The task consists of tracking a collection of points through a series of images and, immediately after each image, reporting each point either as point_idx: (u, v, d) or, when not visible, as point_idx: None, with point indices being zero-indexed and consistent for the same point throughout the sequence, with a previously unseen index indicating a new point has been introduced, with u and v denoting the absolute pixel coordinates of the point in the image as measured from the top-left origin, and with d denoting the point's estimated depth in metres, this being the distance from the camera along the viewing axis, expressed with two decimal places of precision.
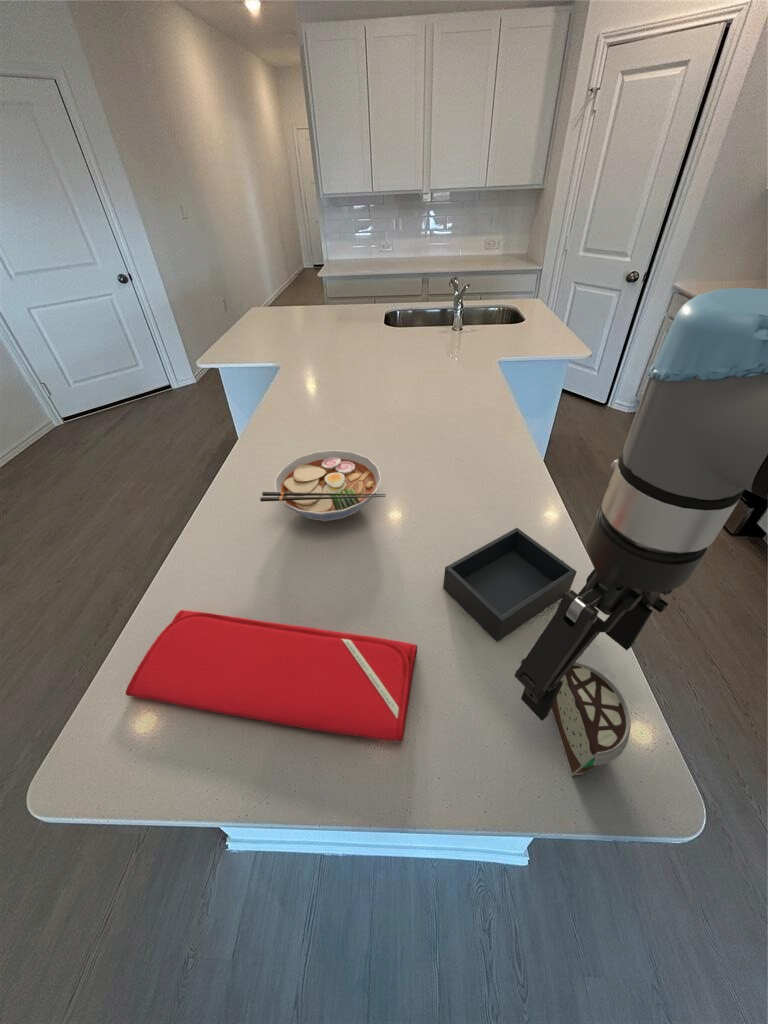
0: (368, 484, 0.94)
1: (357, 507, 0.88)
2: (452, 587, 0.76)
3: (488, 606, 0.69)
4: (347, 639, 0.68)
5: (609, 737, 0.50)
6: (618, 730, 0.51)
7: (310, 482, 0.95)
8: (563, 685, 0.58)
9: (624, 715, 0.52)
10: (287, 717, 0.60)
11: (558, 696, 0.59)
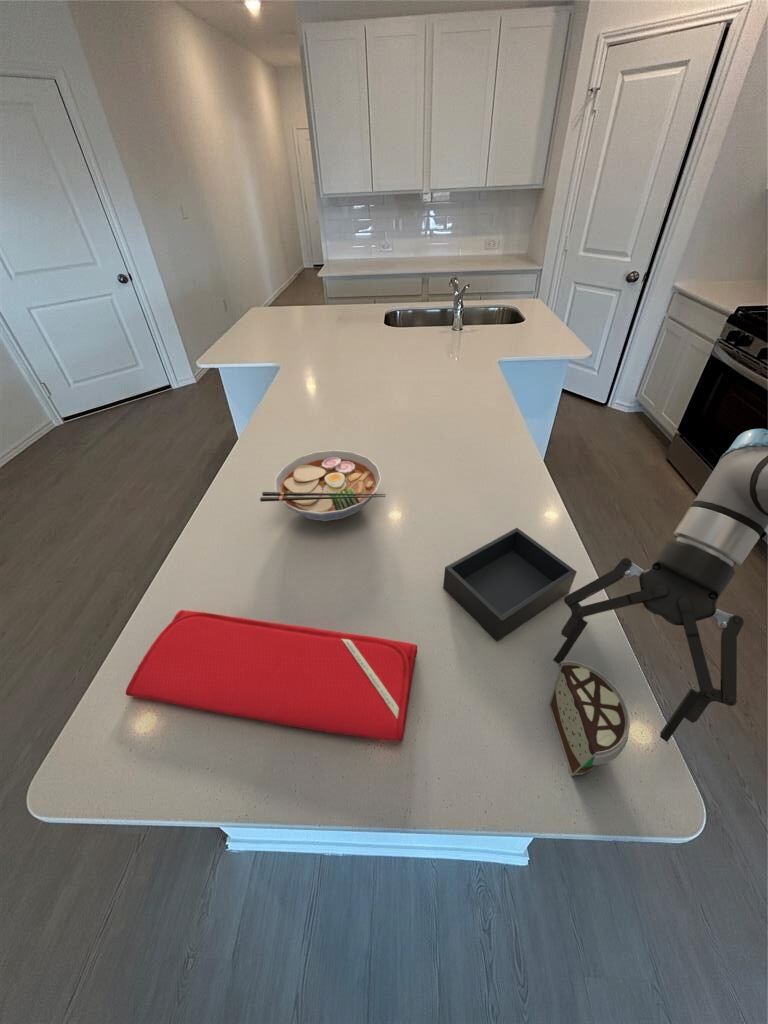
0: (368, 484, 0.94)
1: (357, 507, 0.88)
2: (452, 587, 0.76)
3: (488, 606, 0.69)
4: (347, 639, 0.68)
5: (608, 737, 0.50)
6: (617, 730, 0.51)
7: (310, 482, 0.95)
8: (562, 685, 0.58)
9: (623, 715, 0.52)
10: (287, 717, 0.60)
11: (558, 696, 0.59)
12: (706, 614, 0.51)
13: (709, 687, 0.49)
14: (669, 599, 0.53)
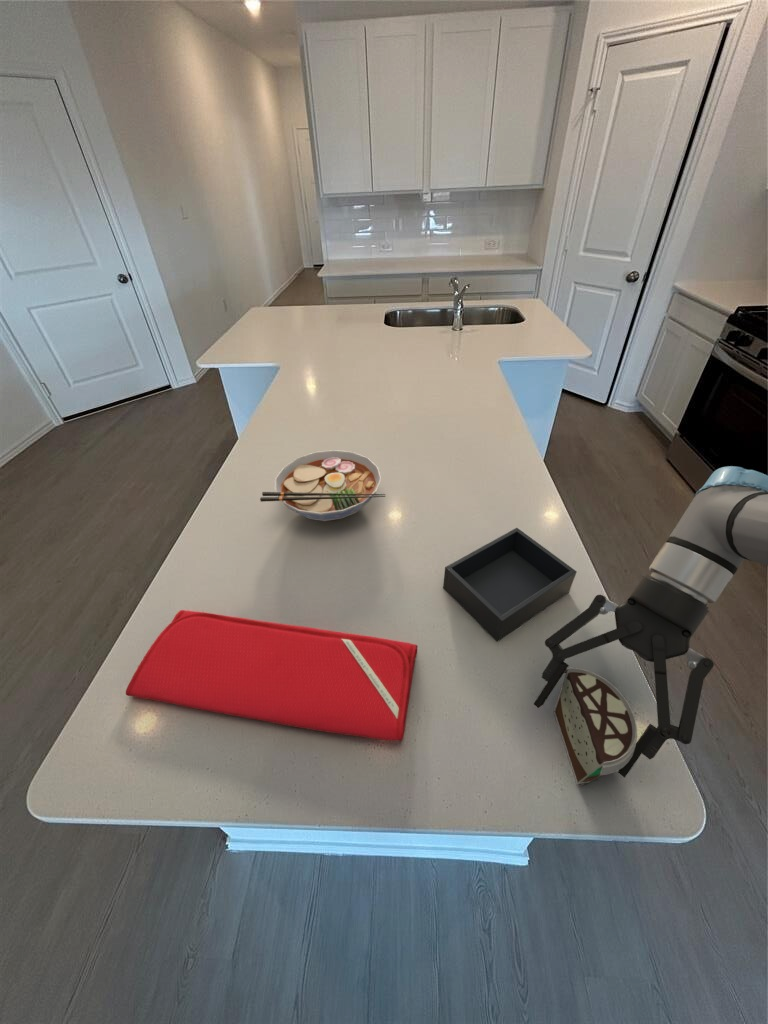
0: (368, 484, 0.94)
1: (357, 507, 0.88)
2: (452, 587, 0.76)
3: (488, 606, 0.69)
4: (347, 639, 0.68)
5: (616, 746, 0.50)
6: (625, 739, 0.50)
7: (310, 482, 0.95)
8: (568, 692, 0.57)
9: (630, 723, 0.51)
10: (287, 717, 0.60)
11: (563, 703, 0.59)
12: (678, 652, 0.51)
13: (667, 725, 0.50)
14: (643, 635, 0.53)
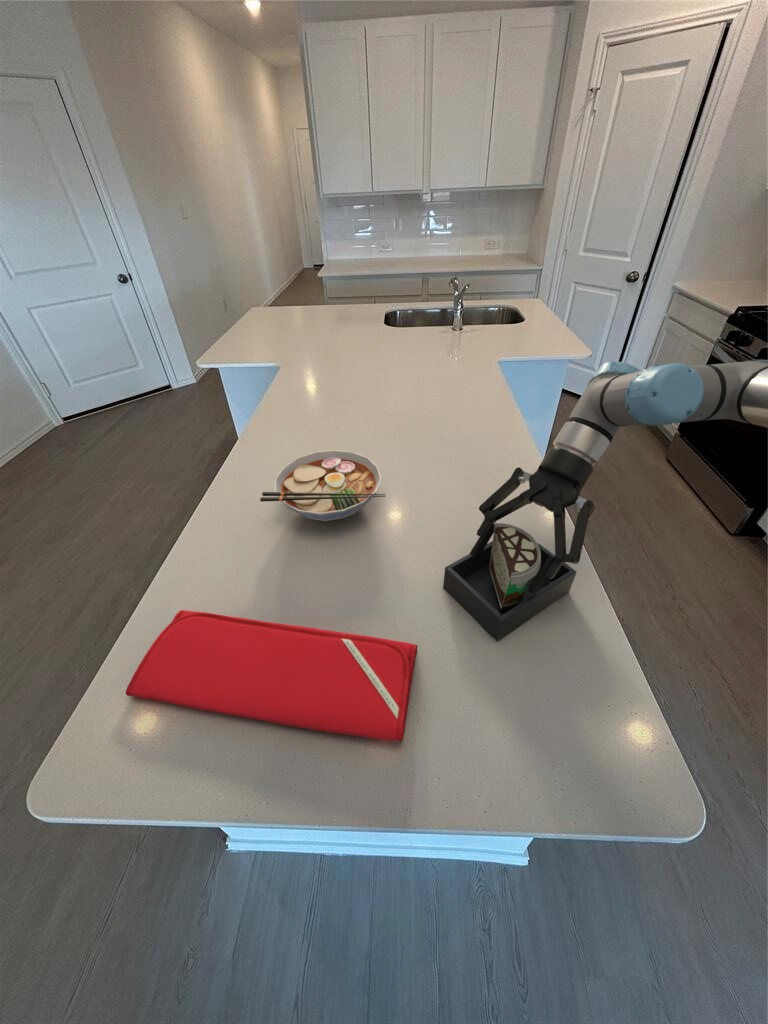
0: (368, 484, 0.94)
1: (357, 507, 0.88)
2: (452, 587, 0.76)
3: (488, 606, 0.69)
4: (347, 639, 0.68)
5: (523, 566, 0.67)
6: (531, 562, 0.68)
7: (310, 482, 0.95)
8: (495, 543, 0.74)
9: (536, 554, 0.69)
10: (287, 717, 0.60)
11: (493, 555, 0.76)
12: (570, 499, 0.68)
13: (561, 551, 0.67)
14: (547, 491, 0.71)
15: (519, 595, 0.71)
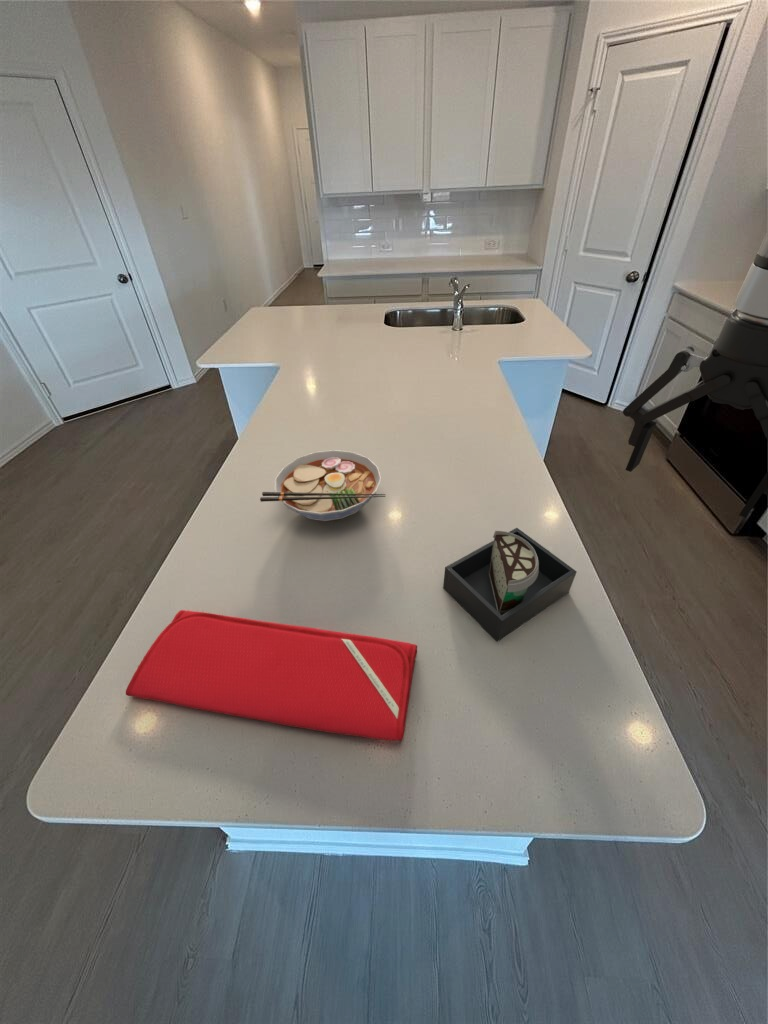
0: (368, 484, 0.94)
1: (357, 507, 0.88)
2: (452, 587, 0.76)
3: (488, 606, 0.69)
4: (347, 639, 0.68)
5: (521, 575, 0.69)
6: (528, 571, 0.69)
7: (310, 482, 0.95)
8: (495, 550, 0.76)
9: (534, 562, 0.70)
10: (287, 717, 0.60)
11: (493, 562, 0.78)
12: None
13: None
14: (735, 385, 0.47)
15: (516, 602, 0.72)
